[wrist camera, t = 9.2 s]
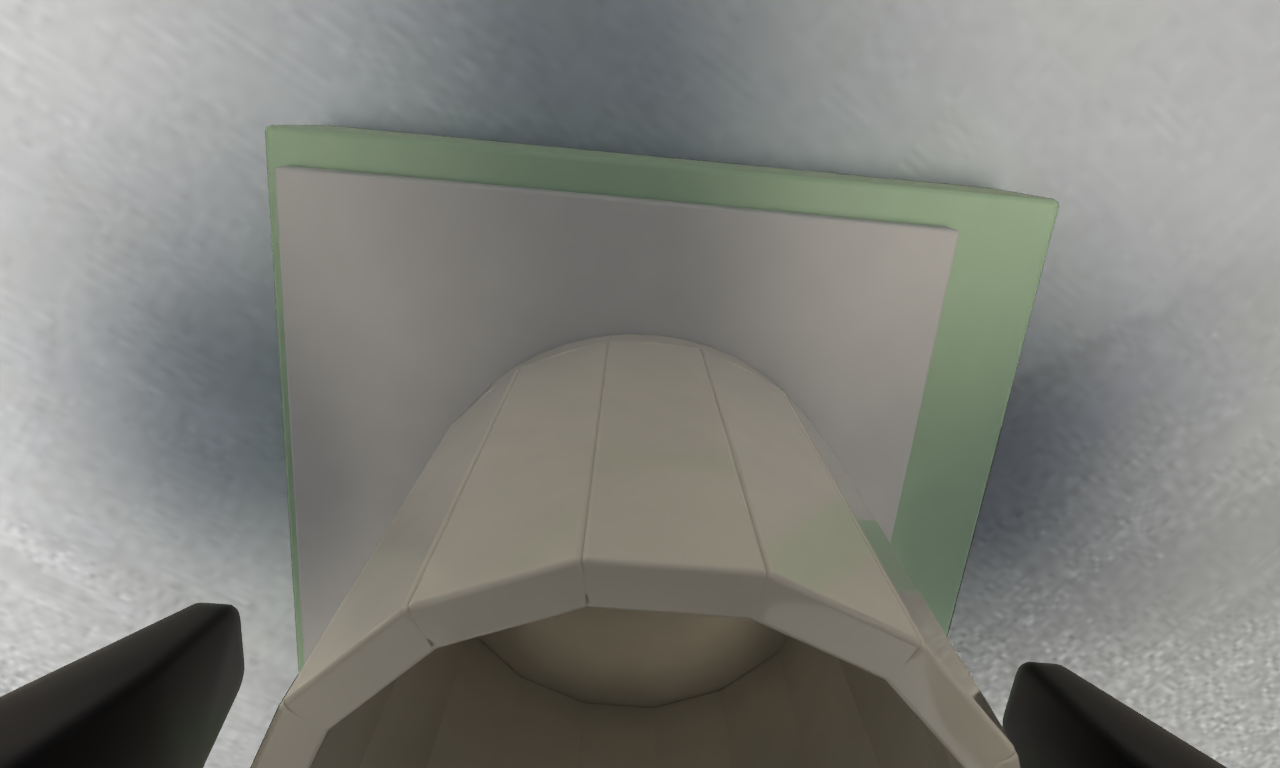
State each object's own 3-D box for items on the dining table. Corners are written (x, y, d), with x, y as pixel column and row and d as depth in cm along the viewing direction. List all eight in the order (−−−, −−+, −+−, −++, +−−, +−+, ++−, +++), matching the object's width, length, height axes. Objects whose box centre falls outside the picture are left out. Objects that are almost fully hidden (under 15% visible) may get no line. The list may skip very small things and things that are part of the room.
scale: (879, 727, 16) (920, 827, 14) (342, 690, 16) (293, 786, 13) (1007, 189, 13) (1089, 204, 10) (319, 124, 12) (247, 124, 10)
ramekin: (806, 714, 13) (939, 1174, 7) (425, 688, 13) (257, 1142, 7) (877, 353, 11) (1140, 598, 5) (425, 314, 11) (189, 529, 5)
